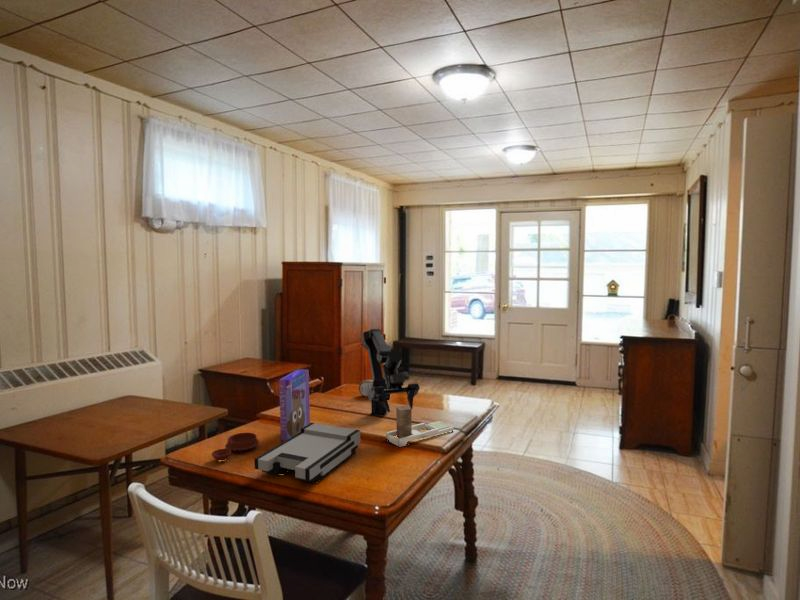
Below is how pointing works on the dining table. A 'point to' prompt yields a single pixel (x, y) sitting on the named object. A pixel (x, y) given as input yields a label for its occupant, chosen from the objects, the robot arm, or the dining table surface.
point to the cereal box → (294, 403)
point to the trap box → (432, 430)
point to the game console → (311, 452)
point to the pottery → (236, 445)
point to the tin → (365, 387)
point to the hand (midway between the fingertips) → (400, 410)
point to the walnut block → (403, 421)
